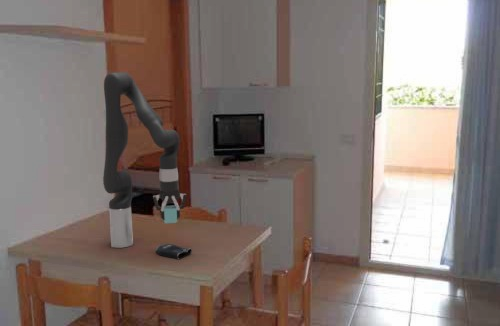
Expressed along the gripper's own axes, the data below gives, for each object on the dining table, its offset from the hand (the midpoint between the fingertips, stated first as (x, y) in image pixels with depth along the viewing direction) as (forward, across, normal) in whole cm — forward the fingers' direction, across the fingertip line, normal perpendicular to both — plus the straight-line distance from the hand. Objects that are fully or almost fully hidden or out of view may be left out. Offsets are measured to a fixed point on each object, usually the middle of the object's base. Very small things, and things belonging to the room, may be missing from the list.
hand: (170, 218), depth 206 cm
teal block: (+1, 0, 0) cm, 1 cm away
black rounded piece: (+15, 0, 0) cm, 15 cm away
